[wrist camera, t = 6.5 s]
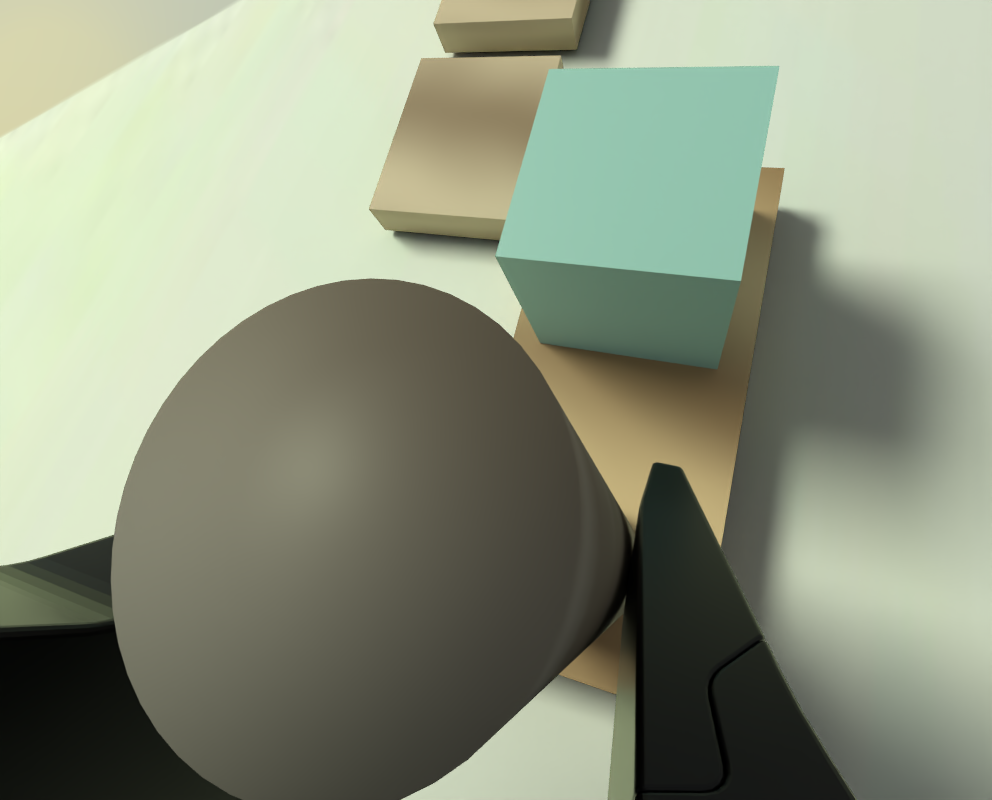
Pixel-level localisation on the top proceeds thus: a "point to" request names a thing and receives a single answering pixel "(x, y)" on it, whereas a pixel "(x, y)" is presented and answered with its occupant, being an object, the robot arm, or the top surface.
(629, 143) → the cube
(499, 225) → the beige rectangular block
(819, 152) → the top surface
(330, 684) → the wooden peg stand
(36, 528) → the top surface
